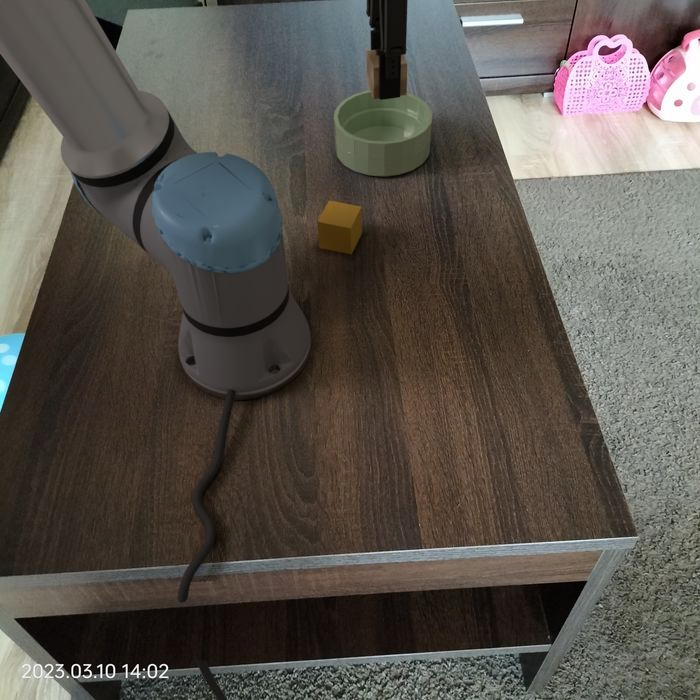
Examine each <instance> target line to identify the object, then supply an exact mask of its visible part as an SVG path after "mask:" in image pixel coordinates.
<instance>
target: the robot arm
mask: <svg viewBox="0 0 700 700" xmlns="http://www.w3.org/2000/svg"><path fill="white" fill-rule="evenodd" d="M408 1H409V0H366V10H365V13H366V16H367V17H368V18H369V21H368V25H369V26H370V29H372V30H369V32H370V50H375V51H376V55H377V56H378V55H379V98H380V100H384V99H392V98H399V97H400V83H401V55H404V56H406V54H407V30H408ZM0 55H1V57H2V58H3V59H4V61H5V62H6V64H7V65H8V66H9V67H10V68H11V70H12V71H13V72H14V74H15V75H16V76H17V78H18V79H19V80H20V82H21V83H22V85H23V86H24V87H25V88H26V90H27V91H28V93H29V94H30V95H31V96H32V97H33V99H34V100H35V101H36V103H37V104H38V106H39V107H40V108H41V109H42V111H43V112H44V113H45V115H46V116H47V118H48V119H49V120H50V121H51V123H52V124H53V125H54V127H55V128H56V129H57V131H58V132H59V133H60V134H61V135H62V139H61V143H60V154H61V159H62V162H63V163H64V165H65V166H66V168H67V169H68V170H69V172H70V175H71V178H72V180H73V183H74V185H75V186H76V188H77V190H78V192H79V193H80V194H81V196H82V197H83V199H84V200H85V202H86V203H87V204H88V205H89V206H90V207H91V208H92V209H93V210H94V211H95V212H96V213H98V214H99V215H100V216H102V217H103V218H105V219H106V220H108V221H109V222H110V223H111V224H112V225H114V226H115V227H116V228H117V229H118V230H120V231H121V232H122V233H123V234H125V235H126V236H127V237H128V238H129V239H130V240H131V241H133V242H134V243H135V244H136V245H137V246H138V247H140V248H141V249H142V250H143V251H144V252H145V253H147V254H148V255H149V256H150V257H151V258H152V259H154V261H156V262H157V263H158V264H160V266H162V267H163V268H164V269H165V270H166V271H167V272H168V273H169V274H170V276H171V278H172V280H173V282H174V286H175V288H176V292H177V296H178V298H179V303H180V305H181V309H182V315H181V321H180V328H179V334H178V340H177V348H178V349H177V350H178V357H179V360H180V363H181V366H182V369H183V372H184V374H185V376H186V377H187V379H188V380H189V381H190V382H191V384H192V385H194V386H195V387H196V388H198V389H199V390H200V391H202V392H204V393H206V394H207V395H210V396H212V397H215V398H220V399H224V404H223V408H222V411H221V416H220V422H219V426H218V431H217V438H216V442H215V443H216V444H215V449H214V452H213V453H214V454H213V458H212V460H211V463H210V466H209V468H208V470H207V472H206V473H205V474H204V475H203V476H202V477H201V479H200V480H199V481H198V483H197V484H196V486H195V488H194V489H193V493H192V496H191V497H192V499H191V500H192V501H191V503H192V506H193V511H194V512H195V513H196V515H197V516H198V518H199V519H200V520H201V522H202V523H203V525H204V527H205V539H204V542H203V545H202V546H201V548H200V550H198V552H197V553H196V555H195V556H194V558H193V559H191V561H190V562H189V564H188V566H187V568H186V569H185V571H184V573H183V574H182V575H183V576H182V578H181V579H180V583H179V588H178V594H177V601H178V603H181V604H183V603H185V602H186V601H188V598H189V591H190V586H191V584H192V580H193V579H194V576H195V574H196V573H197V572H198V569H199V568H200V567H201V565H202V564H203V563H204V562H205V560H206V559H207V558H208V556H209V555H210V553H211V551H212V549H213V547H214V544H215V541H216V537H217V529H216V528H217V527H216V524H215V521H214V520H213V517H211V515H210V514H209V512H208V511H207V509H206V508H205V506H204V504H203V494H204V492H205V489H206V488H207V487H208V486H209V484H210V483H211V482H212V480H213V479H214V478H215V476H216V475H217V473H218V472H219V469H220V467H221V464H222V461H223V457H224V452H225V448H226V442H227V434H228V429H229V424H230V419H231V415H232V411H233V405H234V401H245V400H247V401H248V400H253V399H259V398H264V397H266V396H269V395H271V394H274V393H276V392H278V391H280V390H282V389H283V388H285V387H287V386H289V384H291V383H292V382H293V381H294V380H296V378H297V377H298V376H299V375H300V374H301V373H302V372H303V370H304V369H305V367H306V365H307V363H308V361H309V359H310V355H311V351H312V336H311V335H312V334H311V328H310V326H309V323H308V319H307V318H306V315H305V314H304V312H303V310H302V309H301V307H300V306H299V304H298V303H297V301H296V299H295V298H294V296H293V295H292V293H291V292H290V288H289V287H290V286H289V278H288V270H287V262H286V254H285V245H284V244H285V243H284V236H283V217H282V216H283V215H282V213H281V208H280V206H279V203H278V199H277V195H276V192H275V188H274V186H273V184H272V183H271V181H270V179H269V177H268V176H267V175H266V174H265V173H264V171H262V169H261V168H259V167H258V166H257V165H255V164H254V163H253V162H251V161H249V160H247V159H246V158H243V157H241V156H238V155H235V154H232V153H225V154H224V155H223V156H219V154H218V153H217V152H216V151H203V152H202V151H201V152H197V151H196V150H195V149H193V147H191V145H190V144H189V143H188V142H187V141H186V139H185V137H184V136H183V135H182V132H181V131H180V129H179V127H178V126H177V124H176V122H175V119H174V118H173V117H172V115H171V112H169V110H168V108H167V106H166V105H165V103H164V102H163V100H161V98H160V97H158V96H156V95H155V94H153V93H150V92H147V91H143V90H139V89H138V87H137V85H136V83H135V82H134V80H133V78H132V77H131V75H130V74H129V72H128V70H127V68H126V67H125V65H124V64H123V62H122V59H121V58H120V56H119V55H118V53H117V51H116V50H115V48H114V47H113V45H112V43H111V41H110V39H109V38H108V36H107V34H106V33H105V31H104V30H103V28H102V26H101V24H100V23H99V21H98V19H97V17H96V16H95V14H94V13H93V11H92V9H91V8H90V6H89V4H88V2H87V1H86V0H0ZM195 662H196V664H197V667H198V669H199V672H200V674H201V675H202V677H203V679H204V681H205V682H206V684H207V686H208V687H209V689H210V691H211V692H212V694H213V695H214V697H215V698H216V699H217V700H228V698H227V696H226V694H225V693H224V692H223V690H222V689H221V687H220V685H219V683H218V682H217V680H216V679H215V676H214V675H213V673H212V670H211V669H210V666H209V664H208V662H207V660H202V659H195Z"/></svg>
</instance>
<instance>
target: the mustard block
mask: <svg viewBox="0 0 700 700" xmlns="http://www.w3.org/2000/svg"><path fill="white" fill-rule="evenodd" d="M362 208H363V207H362V206H360V205H355V204H351V203H345V202H340V201H335V200H328V202H327V203H326V205H325V207H324V209H323V210H322V213H321V214H320V216H319V218H318V220H317V221H316V222H317V233H318V235H317V236H318V246H319V249H323V250H328V251H332V252H337V253H342V254H346V255H350V256H351V255H353V253H354V250H355V249H356V247H357V245H358V242H359V240H360V238H361V237H362V235H363V209H362Z"/></svg>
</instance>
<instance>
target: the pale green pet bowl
mask: <svg viewBox="0 0 700 700" xmlns="http://www.w3.org/2000/svg"><path fill="white" fill-rule="evenodd" d="M433 116H434V115H433V112H432V109H431V107H430V105H429V104H428V103H427V102H426V101H424V100H423V99H422V98H421V97H419V96H417V95H415V94H413V93H410V92H407V95H402V96H400V97H399V98H392V99H384V100H380V99H373V96H372V94H371V91H370V89H369V90H365V91H361V92H358V93H354V94H352V95H350V96H348V97H346V98H345V99H343V100H342V101H341V102H340V103H339V105H337V107H336V108H335V110H334V114H333V131H334V151H335V153H336V154H335V155H336V157H337V159H338V160H339V161H340V162H341V163H342V164H343V166H345V167H346V168H348V169H349V170H352V171H353V172H356V173H359V174H362V175H366V176H371V177H373V176H374V177H392V176H400V175H403V174H405V173H408V172H413V171H414V170H415V169H417V168H419V167H420V166H422V165H423V164H424V163H425V162H426V160H427V159H428V157H430V153H431V144H432V131H433V129H432V128H433Z"/></svg>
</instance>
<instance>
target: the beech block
mask: <svg viewBox="0 0 700 700" xmlns="http://www.w3.org/2000/svg"><path fill="white" fill-rule="evenodd" d="M365 52H366V56H365V57H366V83H367V85H368V89H369V90H370V91H371V94H372V96H373V99H380V98H379V55H378V56H377V55H376V51H375V50H371V49H370V50H366V51H365ZM407 93H408V61H407V59H406V57H405V55H401V83H400V96H402V95H407Z"/></svg>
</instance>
